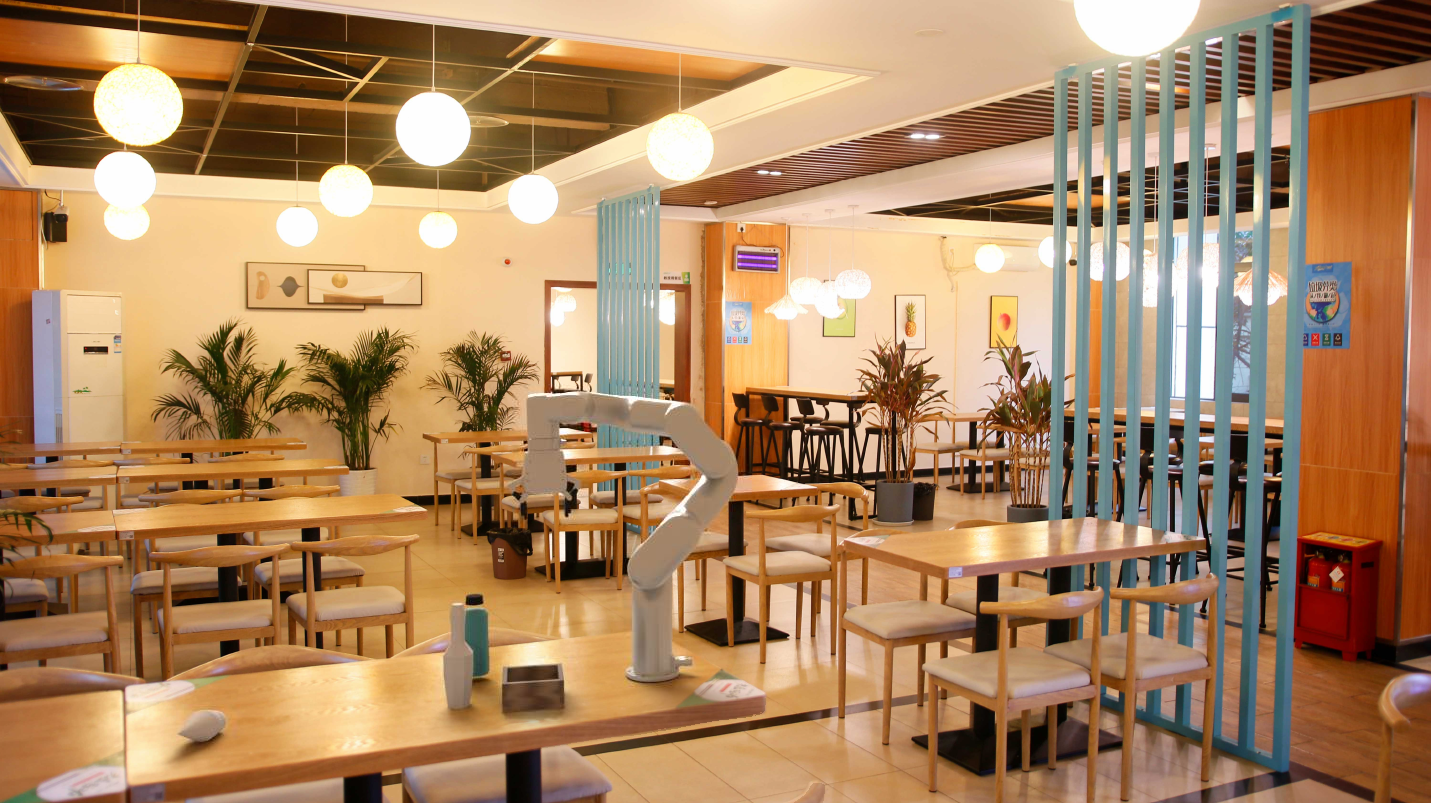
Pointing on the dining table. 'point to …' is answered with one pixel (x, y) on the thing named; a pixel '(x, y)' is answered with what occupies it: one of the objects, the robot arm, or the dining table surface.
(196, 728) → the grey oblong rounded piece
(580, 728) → the dining table surface
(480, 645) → the beverage bottle
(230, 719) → the dining table surface
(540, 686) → the walnut box
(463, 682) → the low poly bottle
